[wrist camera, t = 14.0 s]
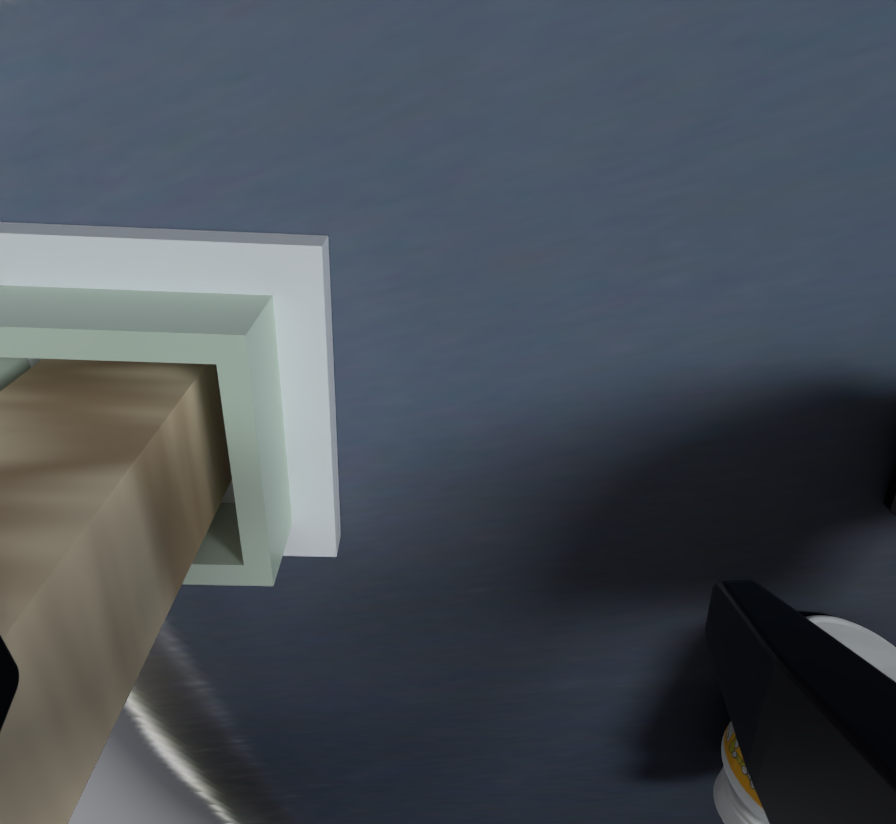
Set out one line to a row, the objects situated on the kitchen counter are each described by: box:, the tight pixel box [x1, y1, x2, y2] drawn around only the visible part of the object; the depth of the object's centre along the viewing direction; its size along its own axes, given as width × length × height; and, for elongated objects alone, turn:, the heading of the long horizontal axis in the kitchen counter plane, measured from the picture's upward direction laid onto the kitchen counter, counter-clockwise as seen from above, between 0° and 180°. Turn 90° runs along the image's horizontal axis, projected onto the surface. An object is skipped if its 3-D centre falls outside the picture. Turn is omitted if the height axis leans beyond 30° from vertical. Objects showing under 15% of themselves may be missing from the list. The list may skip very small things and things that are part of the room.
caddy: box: [0, 222, 341, 586], centre depth 19 cm, size 11×11×4 cm
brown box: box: [0, 359, 232, 824], centre depth 15 cm, size 4×4×12 cm
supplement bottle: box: [713, 615, 896, 824], centre depth 26 cm, size 5×5×10 cm
